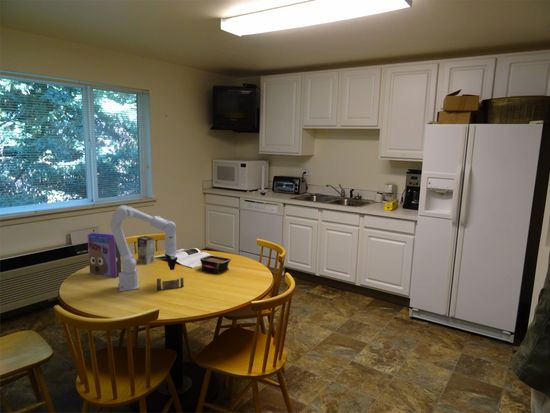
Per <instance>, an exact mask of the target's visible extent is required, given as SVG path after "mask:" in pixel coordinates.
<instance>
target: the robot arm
mask: <svg viewBox="0 0 550 413" xmlns="http://www.w3.org/2000/svg"><path fill="white" fill-rule="evenodd" d="M127 218H128V219H132V218H137V219H139V220H141V221H145V222H148V223H149V224H150V226H151V227H154V228H155V229H156V228H157V229H159V230H161V231H164V232H165V235H164V246H165V247H164V248H165V252H164V256H165V258H166V262H167V266H168V267H169V270H170V271H174V270H175V268H176V263H177V261H178V257H177V256H176V255H177V254H178V253H179V250H177V235H176V234H177V233H176V231H177V226H176V223H175V222H174V221H172V220H170V219H165V218H162V217H161V215H154V216H152V215H149V214H147V213H145V212H143V211H140V210H138V209H136V208H135V207H132V206H128V205H125V204H121V205H119V206H118V207H117V208H116V210H115V211H114V212H113V213H112V217H111V219H110V223H109V227H110V229H111V233H112V235H113V236H114V238H115V241H116V244H117V247H118V249H119V252H120V255H121V272H120V273H119V277H118V285H117V286H118V287H119V292H124V291H131V290H132V291H134V290H138V289H140V286H139V283H138V269H137V268H136V265H137V262H138V261H137V259H136V258H135V257H134V256H133V253H131V250H130V248H129V245H128V242H127V240H126V239H127V238H126V236H125V232H124V230H123V228H122V223H123V221H125V220H126V219H127Z"/></svg>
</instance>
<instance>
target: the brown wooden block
mask: <svg viewBox="0 0 550 413" xmlns="http://www.w3.org/2000/svg"><path fill="white" fill-rule="evenodd" d="M161 281H162V280H161ZM161 286H162V290H169V289H176V288H180V278H176V279H171V280H163V281H162V282H161Z"/></svg>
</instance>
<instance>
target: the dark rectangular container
mask: <svg viewBox="0 0 550 413" xmlns="http://www.w3.org/2000/svg"><path fill="white" fill-rule="evenodd" d="M199 260H200V263H201V272H205V273H210V274H211V273H212V274H218V273H219V272H220V270H229V263H231V261H232V258H229V257H224V256H223V257H222V256H219V255H218V256H217V255H206V256H203V257H201V258H199Z"/></svg>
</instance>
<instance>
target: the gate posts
mask: <svg viewBox="0 0 550 413" xmlns="http://www.w3.org/2000/svg"><path fill="white" fill-rule="evenodd" d="M161 281H162V279H161V278H157V279H156V290H157V291H158V292H160V291H162V282H161ZM179 285H180V288H184V277H180V278H179Z"/></svg>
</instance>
